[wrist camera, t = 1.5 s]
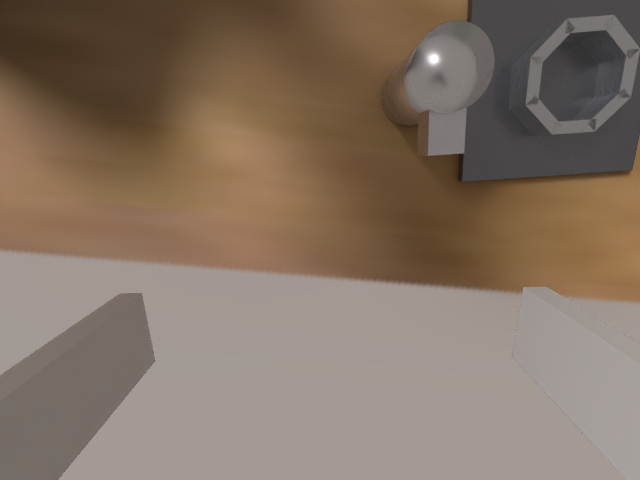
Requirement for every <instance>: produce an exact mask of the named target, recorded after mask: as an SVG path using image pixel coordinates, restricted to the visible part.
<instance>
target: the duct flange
mask: <svg viewBox="0 0 640 480" xmlns="http://www.w3.org/2000/svg"><path fill="white" fill-rule="evenodd" d="M467 22H470V23H472V24H474V25H476V26H478V27H479V28H480V29H482V30H483V31H484V32H485V34H486V35H487V36H488V38H489V40H490V42H491V44H492V47H493V51H494V58H495V62H494V71H493V75H492V78H491V81H490V83H489V85H488V87H487V89H486V90H485V92H484V93H483V94H482V96H481V97H480V98H479V99H478V100H477V101H476V102H474V103H473V104H472V105H470V106H468V107H467V112H466V129H465V147H464V153H462V154H460V165H459V181H461V182H466V181H481V180H496V179H511V178H525V177H540V176H555V175H570V174H585V173H599V172H614V171H629V170H632V169H633V164H634V160H635V155H636V150H637V145H638V140H639V135H640V0H468V18H467Z"/></svg>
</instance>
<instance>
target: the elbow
mask: <svg viewBox="0 0 640 480" xmlns="http://www.w3.org/2000/svg"><path fill="white" fill-rule="evenodd" d="M494 62H495V58H494V51H493V47H492V44H491V42H490V40H489V38H488V36H487V35H486V34H485V32H484V31H483V30H482V29H480V28H479V27H478V26H476V25H474V24H472V23H470V22H466V21H449V22H446V23H443V24H441V25H439V26H437V27H436V28H434V29H433V30H431V31H430V32H429V33H428V34H427V35H426V36H425V37H424V38H423V39H422V41H421V42H420V43H419V44H418V45H417V46H416V48H415V49H414V50H413V51H412V52H411V53H410V54H409V56H408V57H407V58H406V59H405V60H404V61H403V62H402V64H401V65H400V66H399V67H398V68H397V69H396V70H395V72H394V73H393V74H392V75H391V76H390V77H389V79H388V80H387V82H386V83H385V85H384V88H383V91H382V106H383V110H384V112H385V114H386V115H387V117H388V118H389V119H390V120H391V121H393V122H394V123H396V124H398V125H402V126H411V125H415V124H418V150H417V156H433V155H448V154H462V153H464V147H465V129H466V112H467V107H468V106H470V105H472V104H473V103H474V102H476V101H477V100H478V99H479V98H480V97H481V96H482V94H483V93H484V92H485V90H486V89H487V87H488V85H489V83H490V81H491V78H492V75H493V71H494Z"/></svg>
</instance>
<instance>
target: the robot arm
mask: <svg viewBox="0 0 640 480" xmlns="http://www.w3.org/2000/svg"><path fill="white" fill-rule="evenodd" d="M512 357H513V359H514V360H515V361H516V362H517V363H518V364H519V365H520V366H521V367H522V368H523V369H524V370H525V372H526V373H527V374H528V375H529V376H530V377H531V378H532V379H533V380H534V381H535V382H536V383H537V384H538V385H539V386H540V388H541V389H542V390H543V391H544V392H545V393H546V394H547V395H548V396H549V397H550V398H551V400H552V401H553V402H554V403H555V404H556V405H557V406H558V407H559V408H560V409H561V410H562V411H563V413H564V414H565V415H566V416H567V417H568V418H569V419H570V420H571V421H572V422H573V423H574V424H575V425H576V427H578V429H579V430H580V431H581V432H582V433H583V434H584V435H585V436H586V437H587V438H588V439H589V441H590V442H592V444H593V445H594V446H595V447H596V448H597V449H598V450H599V451H600V452H601V453H602V455H603V456H604V457H606V459H607V460H608V461H609V462H610V463H611V464H612V465H613V466H614V467H615V469H617V471H618V472H619V473H620V474H621V475H622V476H623V477H624V478H625V479H626V480H640V342H639V341H637V340H635V339H634V338H632V337H630V336H628V335H627V334H625V333H623V332H622V331H620V330H618V329H617V328H615V327H613V326H612V325H610V324H608V323H607V322H605V321H603V320H602V319H600V318H598V317H597V316H595V315H593V314H591V313H590V312H588V311H586V310H585V309H583V308H581V307H580V306H578V305H576V304H575V303H573V302H571V301H570V300H568V299H566V298H565V297H563V296H561V295H560V294H558V293H556V292H554V291H553V290H551V289H549V288H548V287H524V288H523V294H522V300H521V306H520V312H519V318H518V323H517V329H516V335H515V341H514V347H513V353H512ZM154 362H155V357H154V352H153V348H152V343H151V337H150V333H149V327H148V323H147V317H146V312H145V307H144V302H143V296H142V293H127V294H126V293H124V294H119V295H117V296H116V297H114V298H113V299H111V300H110V301H108V302H107V303H106V304H104V305H103V306H101V307H100V308H98V309H97V310H95V311H94V312H92V313H91V314H89V315H88V316H86V317H85V318H83V319H82V320H81V321H79V322H78V323H76V324H75V325H73V326H72V327H70V328H69V329H67V330H66V331H65V332H63V333H62V334H60V335H59V336H57V337H56V338H54V339H53V340H51V341H50V342H48V343H47V344H45V345H44V346H42V347H41V348H39V349H38V350H36V351H35V352H34V353H32V354H31V355H29V356H28V357H26V358H25V359H23V360H22V361H20V362H19V363H17V364H16V365H14V366H13V367H12V368H10V369H9V370H7V371H6V372H4V373H3V374H1V375H0V480H58V479H59V478H60V477H61V476H62V474H63V473H64V472H65V471H66V469H67V468H68V467H69V466H70V464H71V463H72V462H73V461H74V460H75V458H76V457H77V456H78V455H79V454H80V452H81V451H82V450H83V449H84V447H85V446H86V445H87V444H88V442H89V441H90V440H91V439H92V438H93V436H94V435H95V434H96V433H97V432H98V430H99V429H100V428H101V427H102V425H103V424H104V423H105V422H106V421H107V419H108V418H109V417H110V415H111V414H112V413H113V412H114V411H115V410H116V408H117V407H118V406H119V405H120V403H121V402H122V401H123V400H124V399H125V397H126V396H127V395H128V394H129V392H130V391H131V390H132V389H133V388H134V386H135V385H136V384H137V382H138V381H139V380H140V379H141V378H142V377H143V375H144V374H145V373H146V371H147V370H148V369H149V368H150V367H151V366H152V364H153V363H154Z"/></svg>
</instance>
